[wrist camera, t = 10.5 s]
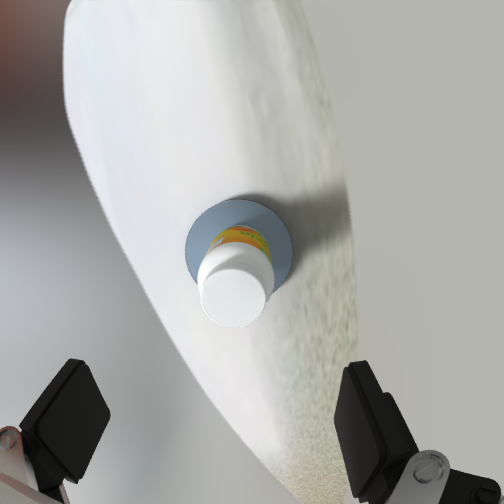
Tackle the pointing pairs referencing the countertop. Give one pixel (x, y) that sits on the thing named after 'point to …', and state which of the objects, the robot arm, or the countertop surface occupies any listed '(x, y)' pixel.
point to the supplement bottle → (236, 277)
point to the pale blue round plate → (242, 215)
